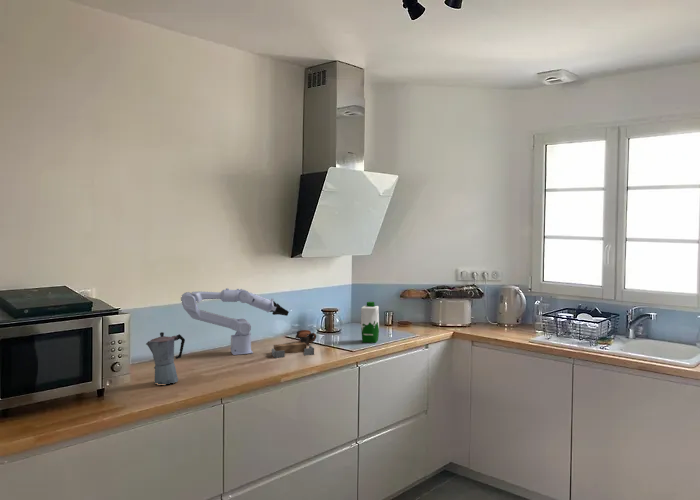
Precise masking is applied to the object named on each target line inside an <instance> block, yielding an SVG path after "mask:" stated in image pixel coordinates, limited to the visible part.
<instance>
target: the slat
mask: <svg viewBox="0 0 700 500" xmlns="http://www.w3.org/2000/svg"><path fill="white" fill-rule="evenodd" d="M306 348H307V345H306V343H304V342H302V343H298V342H292V343H281V344H280V343H279V344H273V349H274V350H275V351H283V350H284V351H285V355H286V354H294V353H295V354H297V353H304V349H306Z"/></svg>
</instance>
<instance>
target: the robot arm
mask: <svg viewBox="0 0 700 500" xmlns="http://www.w3.org/2000/svg"><path fill="white" fill-rule="evenodd" d="M181 296H182V297H181ZM181 296H180V302H181V301H182V302H181V304H182V307H183V309H184V311H186V313H187V314H188V316H189V317H190V318H192V319H193V320H197V321H200V322H205V323H209V324H212V325H215V326H220V327H223V328H227V329H231V330H232V331H235V334H231V335H230V352H231V354H232V355H234V356H237V355H246V354H253V353H254V352H253V350H252V336H251V335H252V333H251V330H252V326H251V323H249V322H248V320H246V318H234V317H233V318H232V317H228V316H224V315H220V314H217V313H213V312H209V311H206V310H202V309H199V306H198V305H197V303H200V302H202V301H203V300H221V301H222V303H237V302H240V303H242V304H248V305H249V306H252V307H254V308H256V309H259V310H262V311H265V312H266V313H272V315H275V316H276V315H278V316H279V315H281V316H286V317H287V316H288V315H289V312H290V311H288V310H287V309H285V308H284V307H282V306H281V305H280V304H279V303H277V302H276V301H275V300H274V298H273V297H271V299H268V298H265V297H264V296H261V295H258V294H256V293H252V292H249V291H248V290H246V289H243V288H236V289H229V288H228V287H227V288H225V289H222V290H221V291H202V290H201V291H199V290H198V291H191V292H190V291H187V292H184V293H183V294H182V295H181Z"/></svg>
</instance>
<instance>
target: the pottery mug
mask: <svg viewBox="0 0 700 500" xmlns="http://www.w3.org/2000/svg"><path fill="white" fill-rule="evenodd" d="M317 337H318V336H317V334H316V333H315V332H312V331H311V330H310V329H309V330H308V329H302V330H301V329H300V330H298V331H296V335H295V339H299V341H297V343H302V342H304V343H306V346H308V347H309V345H310V344H313V342H315V341H316V339H317Z"/></svg>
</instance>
